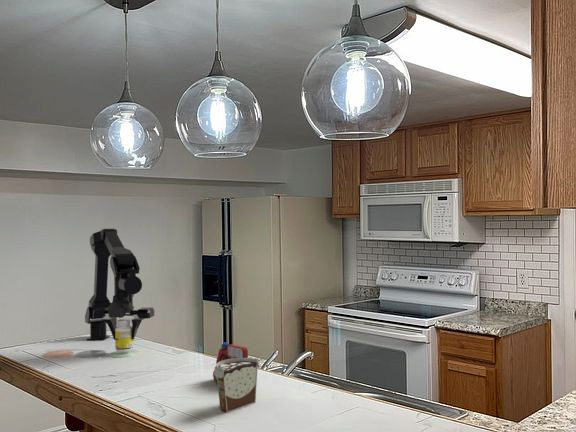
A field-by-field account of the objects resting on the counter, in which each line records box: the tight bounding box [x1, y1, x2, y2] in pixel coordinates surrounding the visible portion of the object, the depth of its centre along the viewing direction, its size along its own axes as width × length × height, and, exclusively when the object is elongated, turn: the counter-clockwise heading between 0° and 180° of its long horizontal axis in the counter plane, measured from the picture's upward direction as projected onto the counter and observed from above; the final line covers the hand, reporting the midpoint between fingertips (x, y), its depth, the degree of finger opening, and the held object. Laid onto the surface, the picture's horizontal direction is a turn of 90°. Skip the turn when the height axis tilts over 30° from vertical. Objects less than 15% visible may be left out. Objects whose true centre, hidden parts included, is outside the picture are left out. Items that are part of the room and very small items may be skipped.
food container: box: [213, 357, 260, 414], centre depth 137 cm, size 12×6×10 cm, turn 141°
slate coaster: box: [76, 349, 107, 359], centre depth 193 cm, size 9×9×1 cm
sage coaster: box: [109, 349, 140, 359], centre depth 193 cm, size 9×9×1 cm
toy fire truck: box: [212, 342, 249, 385], centre depth 156 cm, size 7×12×10 cm, turn 41°
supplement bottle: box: [114, 318, 134, 352], centre depth 193 cm, size 5×5×10 cm
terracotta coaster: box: [43, 349, 74, 359], centre depth 194 cm, size 9×9×1 cm
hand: (124, 339), depth 193 cm, fingers open, 6 cm apart
